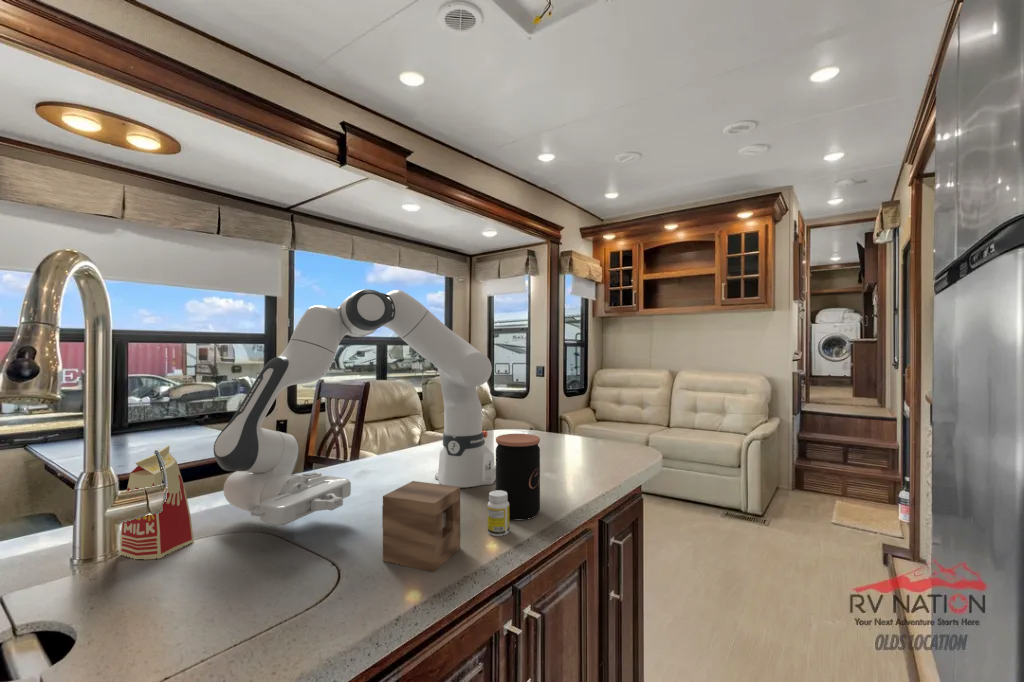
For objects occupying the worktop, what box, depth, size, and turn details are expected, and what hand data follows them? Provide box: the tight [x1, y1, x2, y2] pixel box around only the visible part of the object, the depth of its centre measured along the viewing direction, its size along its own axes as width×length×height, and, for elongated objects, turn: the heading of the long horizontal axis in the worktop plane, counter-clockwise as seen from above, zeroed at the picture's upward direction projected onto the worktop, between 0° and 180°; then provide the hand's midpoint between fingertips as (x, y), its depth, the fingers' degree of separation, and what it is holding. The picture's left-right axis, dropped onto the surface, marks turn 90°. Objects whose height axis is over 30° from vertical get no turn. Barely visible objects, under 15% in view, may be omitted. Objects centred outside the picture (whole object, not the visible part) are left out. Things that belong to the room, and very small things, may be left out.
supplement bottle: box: [486, 489, 511, 537], centre depth 99 cm, size 5×5×8 cm
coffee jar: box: [495, 433, 541, 520], centre depth 110 cm, size 11×11×18 cm
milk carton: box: [119, 445, 195, 560], centre depth 91 cm, size 9×9×20 cm
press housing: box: [382, 480, 461, 573], centre depth 88 cm, size 10×11×12 cm
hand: (338, 504), depth 95 cm, fingers closed
